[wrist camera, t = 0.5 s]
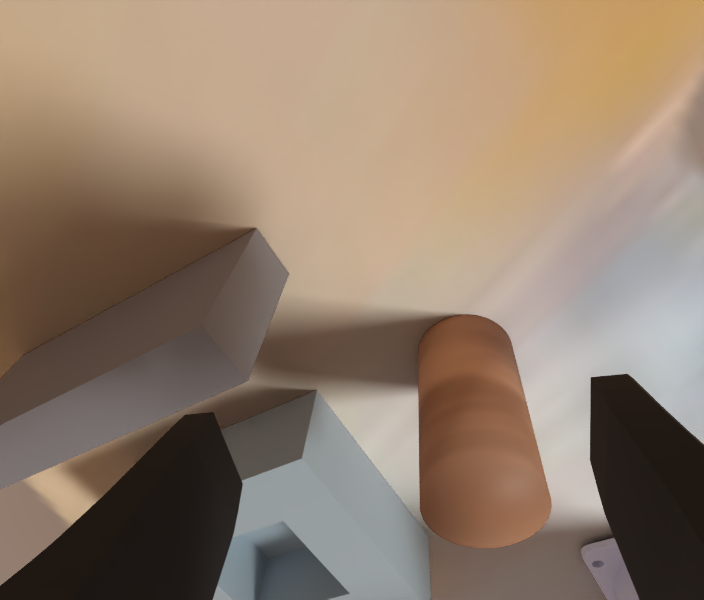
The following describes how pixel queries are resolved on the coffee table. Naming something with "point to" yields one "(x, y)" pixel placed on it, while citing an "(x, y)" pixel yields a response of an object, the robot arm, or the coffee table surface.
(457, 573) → the coffee table surface
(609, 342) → the coffee table surface
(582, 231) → the coffee table surface
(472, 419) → the dowel
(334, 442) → the socket block
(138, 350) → the charcoal wall
